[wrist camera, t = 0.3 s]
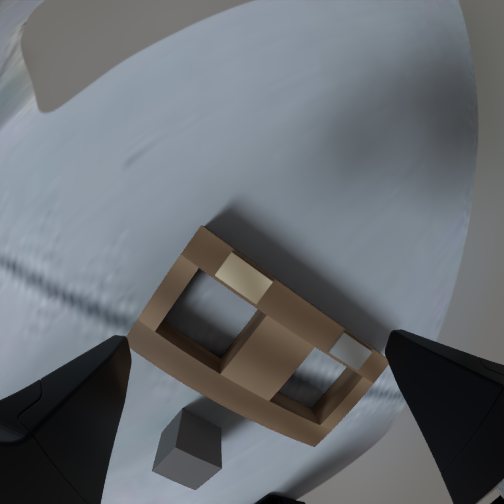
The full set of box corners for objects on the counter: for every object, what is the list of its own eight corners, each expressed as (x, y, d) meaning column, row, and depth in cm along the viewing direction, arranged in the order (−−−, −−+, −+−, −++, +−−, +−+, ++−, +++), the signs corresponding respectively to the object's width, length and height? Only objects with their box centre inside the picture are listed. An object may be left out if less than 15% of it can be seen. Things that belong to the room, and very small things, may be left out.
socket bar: (306, 429, 25) (315, 448, 22) (133, 330, 23) (121, 343, 20) (375, 349, 25) (392, 362, 22) (204, 226, 23) (200, 225, 20)
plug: (198, 450, 24) (195, 490, 18) (161, 432, 24) (152, 470, 18) (220, 427, 24) (221, 468, 18) (182, 407, 24) (175, 447, 18)
